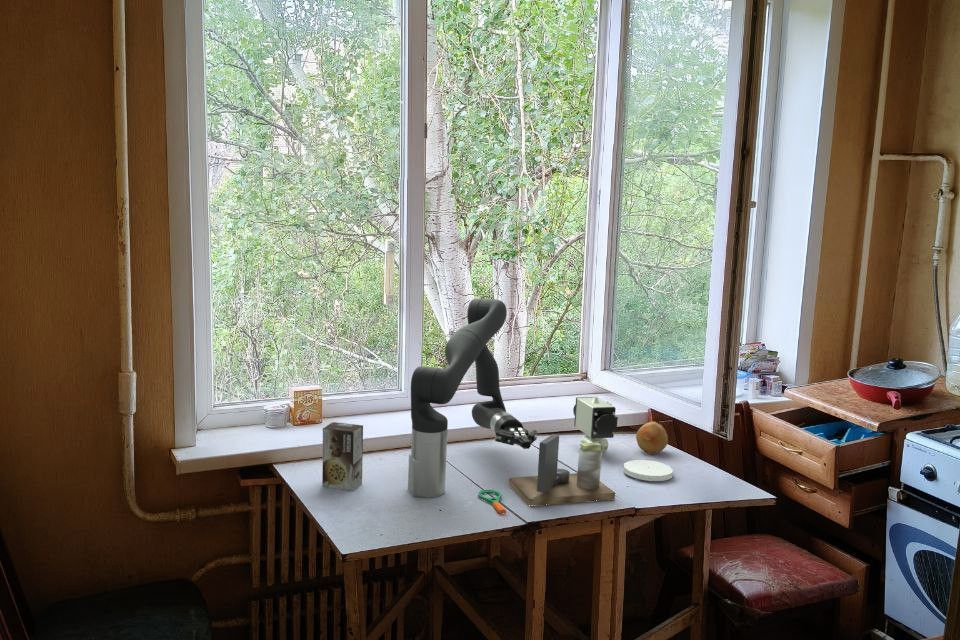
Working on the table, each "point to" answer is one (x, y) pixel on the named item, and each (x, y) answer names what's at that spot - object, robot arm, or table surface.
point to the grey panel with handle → (550, 465)
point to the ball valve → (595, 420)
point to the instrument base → (578, 487)
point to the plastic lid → (648, 470)
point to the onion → (652, 438)
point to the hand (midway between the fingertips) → (527, 445)
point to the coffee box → (342, 456)
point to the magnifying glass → (493, 500)
